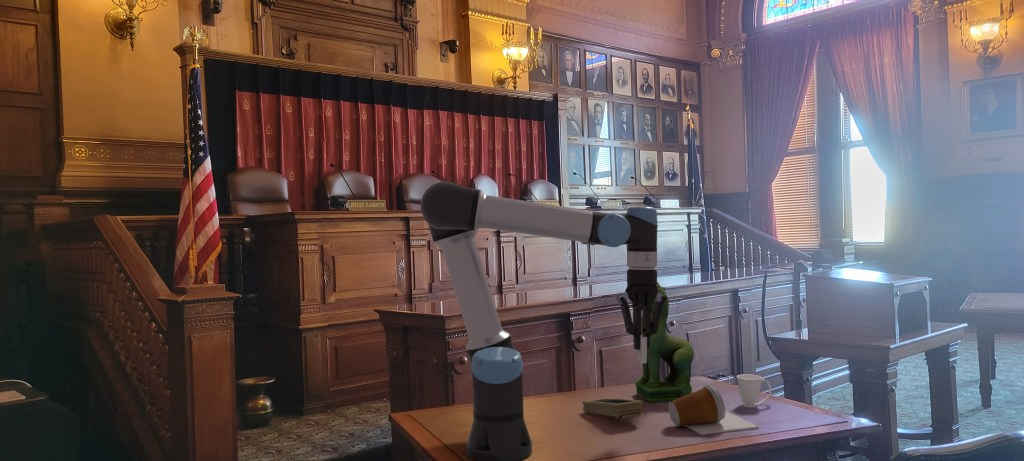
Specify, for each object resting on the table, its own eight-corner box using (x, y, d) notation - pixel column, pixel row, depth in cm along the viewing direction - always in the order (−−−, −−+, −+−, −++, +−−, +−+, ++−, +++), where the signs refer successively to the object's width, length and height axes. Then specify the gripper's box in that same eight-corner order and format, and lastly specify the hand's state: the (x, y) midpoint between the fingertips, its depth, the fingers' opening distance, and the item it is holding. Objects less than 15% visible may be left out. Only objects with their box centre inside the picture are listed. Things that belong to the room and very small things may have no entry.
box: (620, 424, 182) (618, 404, 183) (576, 418, 202) (574, 400, 203) (647, 420, 185) (645, 400, 186) (601, 415, 205) (599, 397, 206)
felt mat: (701, 434, 176) (701, 432, 176) (670, 418, 191) (670, 416, 191) (758, 428, 180) (758, 426, 180) (724, 412, 195) (724, 410, 195)
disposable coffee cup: (670, 389, 181) (714, 378, 183) (662, 403, 189) (704, 393, 191) (685, 425, 176) (730, 413, 178) (676, 438, 184) (719, 426, 186)
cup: (732, 403, 205) (731, 374, 205) (765, 400, 206) (764, 372, 206) (743, 409, 198) (743, 380, 198) (777, 407, 199) (777, 378, 199)
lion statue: (631, 393, 219) (628, 279, 219) (682, 390, 222) (679, 277, 222) (646, 404, 206) (643, 282, 205) (701, 400, 209) (698, 280, 208)
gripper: (623, 269, 175) (623, 366, 175) (672, 269, 178) (672, 363, 179) (611, 267, 182) (611, 360, 183) (659, 267, 186) (658, 358, 186)
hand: (641, 362), depth 181 cm, fingers closed
